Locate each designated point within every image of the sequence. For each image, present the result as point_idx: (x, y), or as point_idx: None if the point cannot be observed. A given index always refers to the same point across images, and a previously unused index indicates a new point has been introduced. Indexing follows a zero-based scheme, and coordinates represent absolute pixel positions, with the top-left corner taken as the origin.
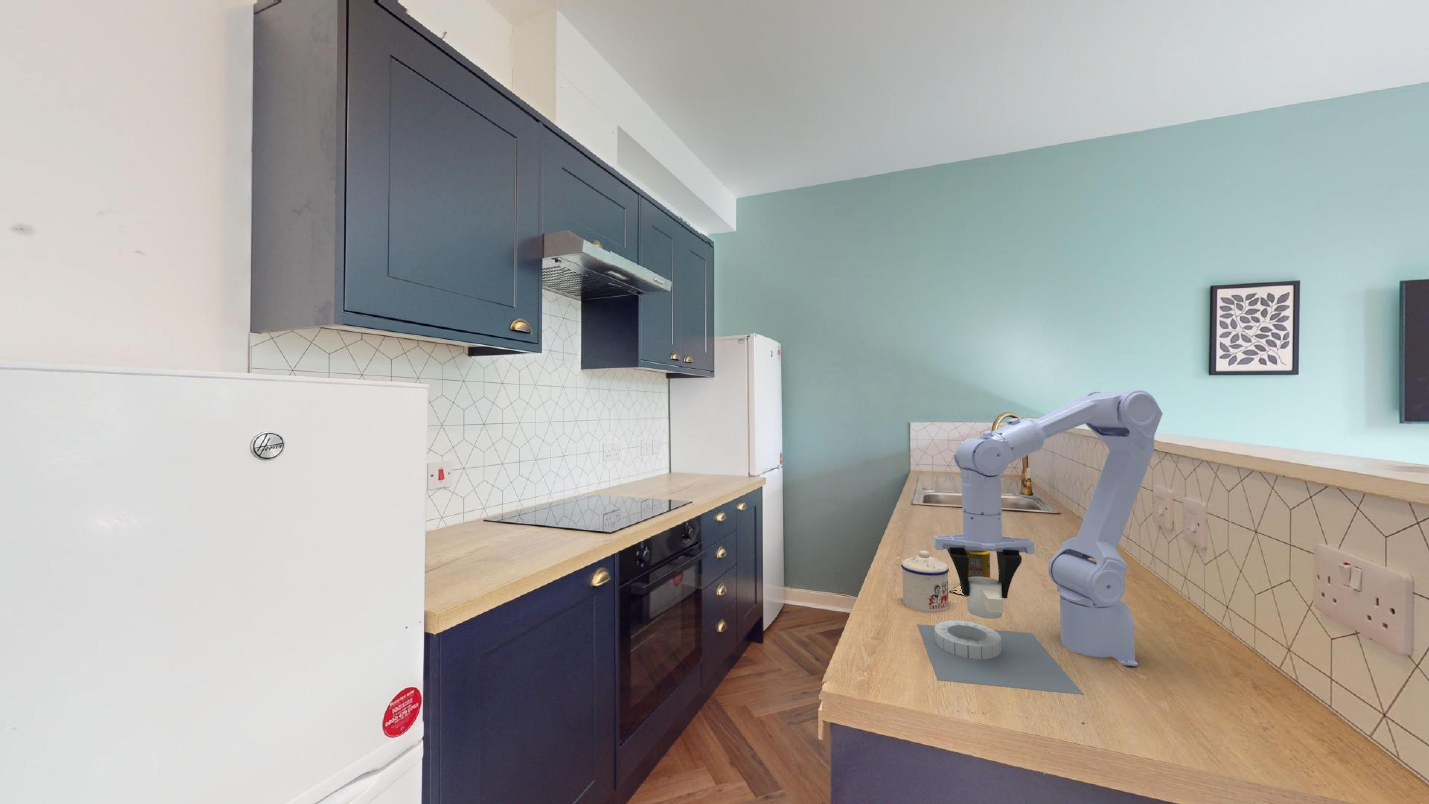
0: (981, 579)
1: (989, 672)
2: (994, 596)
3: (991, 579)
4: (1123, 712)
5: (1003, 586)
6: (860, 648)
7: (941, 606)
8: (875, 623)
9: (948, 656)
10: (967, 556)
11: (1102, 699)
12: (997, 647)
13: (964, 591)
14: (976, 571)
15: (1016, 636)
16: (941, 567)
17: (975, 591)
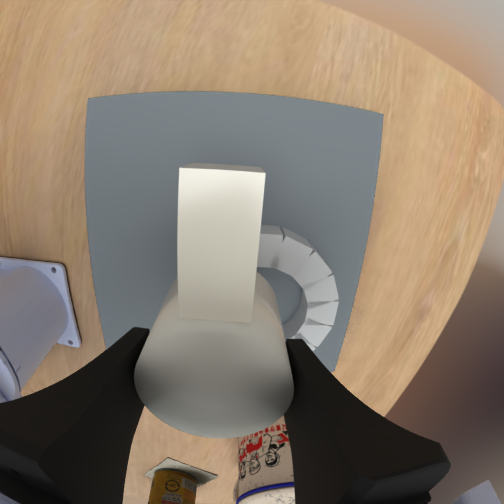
0: (216, 414)
1: (253, 156)
2: (212, 219)
3: (170, 415)
4: (53, 85)
5: (129, 354)
6: (460, 266)
7: (260, 431)
8: (396, 370)
9: (326, 228)
10: (342, 498)
11: (62, 120)
12: None
13: (309, 348)
14: (171, 500)
15: None
16: (259, 501)
17: (272, 331)
